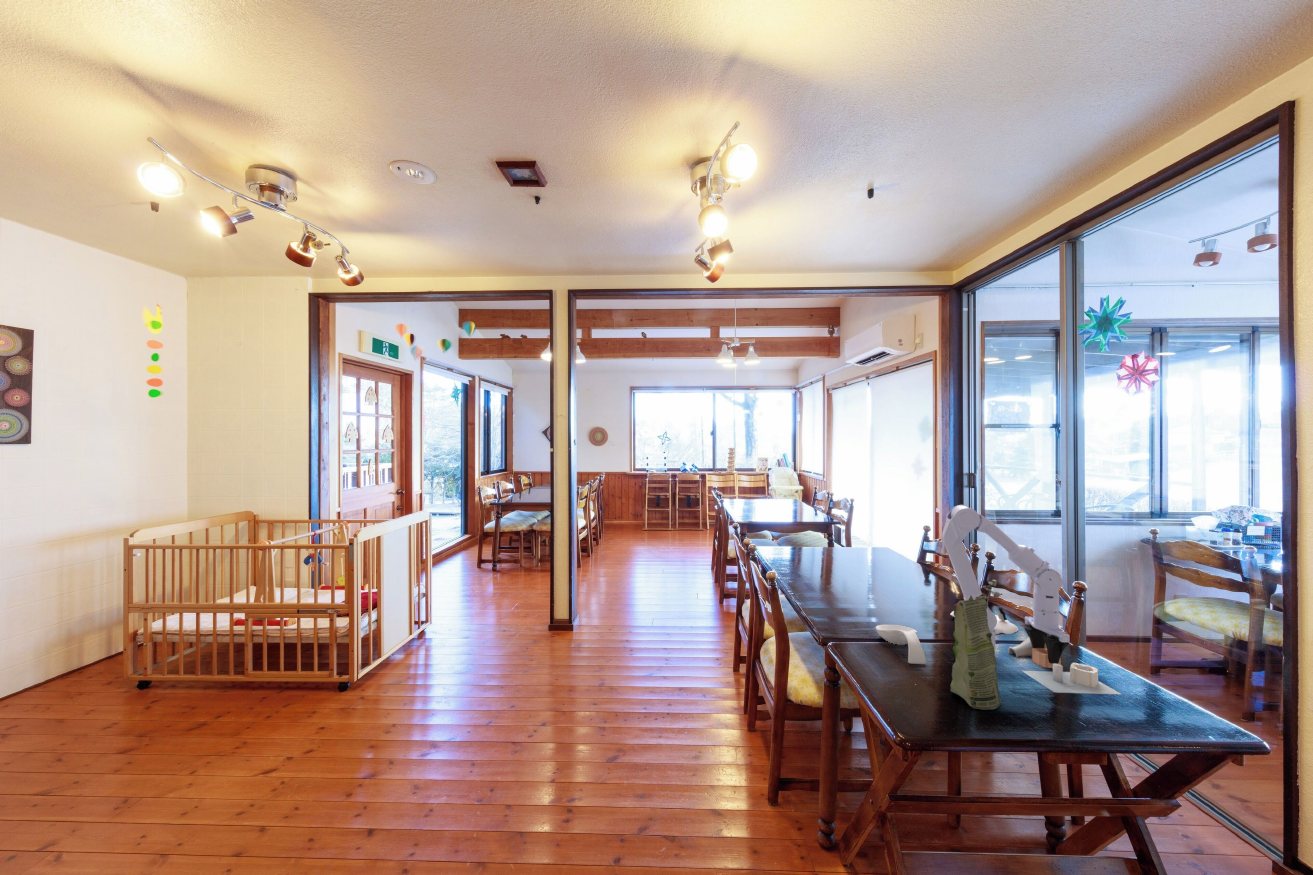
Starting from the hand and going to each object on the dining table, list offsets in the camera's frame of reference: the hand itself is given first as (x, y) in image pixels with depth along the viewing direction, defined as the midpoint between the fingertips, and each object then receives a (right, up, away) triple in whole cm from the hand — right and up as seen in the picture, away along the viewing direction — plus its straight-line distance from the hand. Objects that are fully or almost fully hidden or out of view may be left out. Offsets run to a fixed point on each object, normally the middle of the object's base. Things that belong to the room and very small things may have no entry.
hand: (1046, 658), depth 140 cm
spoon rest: (-34, -3, +13) cm, 36 cm away
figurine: (+5, -4, +35) cm, 35 cm away
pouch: (-32, -2, -18) cm, 37 cm away
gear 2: (+2, -1, -11) cm, 11 cm away
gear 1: (0, -2, 0) cm, 2 cm away
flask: (+5, +1, +7) cm, 8 cm away
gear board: (-2, -2, -11) cm, 11 cm away
